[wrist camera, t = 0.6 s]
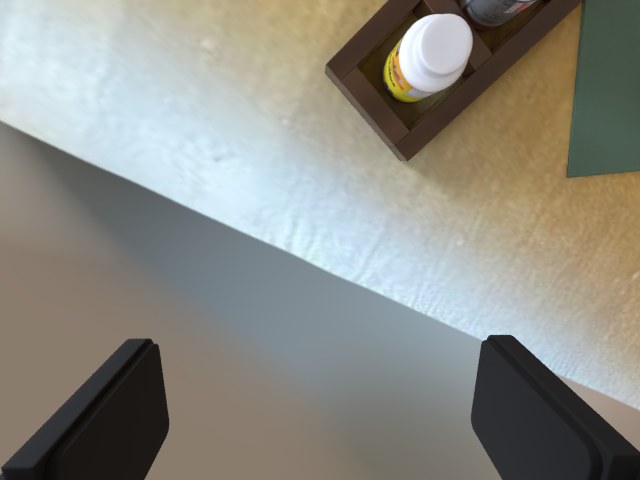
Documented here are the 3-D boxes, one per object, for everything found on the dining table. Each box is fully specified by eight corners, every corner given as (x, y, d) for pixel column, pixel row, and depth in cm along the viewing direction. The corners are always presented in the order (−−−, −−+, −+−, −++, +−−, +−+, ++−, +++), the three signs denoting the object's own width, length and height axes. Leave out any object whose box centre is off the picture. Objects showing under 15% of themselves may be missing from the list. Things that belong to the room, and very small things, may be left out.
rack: (324, 72, 34) (325, 64, 31) (500, -109, 30) (520, -136, 27) (399, 160, 36) (407, 161, 33) (571, 2, 33) (596, -12, 30)
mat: (586, -34, 32) (589, -36, 31) (710, -46, 32) (715, -48, 31) (566, 177, 37) (569, 177, 37) (673, 167, 37) (677, 167, 37)
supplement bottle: (385, 41, 33) (416, -7, 23) (439, 49, 33) (493, 5, 23) (376, 100, 34) (401, 79, 25) (428, 108, 35) (474, 90, 25)
